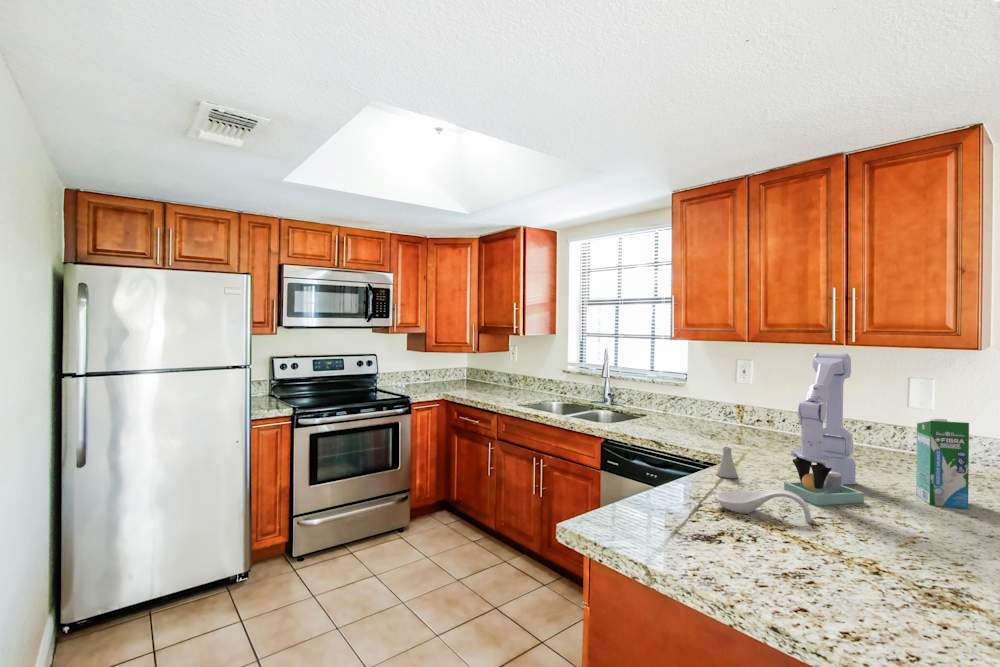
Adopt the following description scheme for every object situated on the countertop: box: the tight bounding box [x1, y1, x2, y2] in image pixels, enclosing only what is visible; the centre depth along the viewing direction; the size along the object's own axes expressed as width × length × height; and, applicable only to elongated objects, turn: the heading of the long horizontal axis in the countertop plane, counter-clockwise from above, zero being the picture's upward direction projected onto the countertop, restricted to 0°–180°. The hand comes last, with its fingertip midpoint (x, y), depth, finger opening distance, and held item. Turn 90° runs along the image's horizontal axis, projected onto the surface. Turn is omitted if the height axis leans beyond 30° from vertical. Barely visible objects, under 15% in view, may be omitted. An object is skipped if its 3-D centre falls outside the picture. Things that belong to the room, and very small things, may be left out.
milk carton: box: [915, 418, 970, 510], centre depth 150 cm, size 9×9×25 cm
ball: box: [802, 472, 817, 491], centre depth 153 cm, size 5×5×5 cm
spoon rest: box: [714, 488, 812, 524], centre depth 140 cm, size 24×12×7 cm, turn 62°
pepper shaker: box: [824, 471, 842, 494], centre depth 154 cm, size 4×4×7 cm
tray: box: [783, 481, 865, 507], centre depth 154 cm, size 16×13×3 cm
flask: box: [716, 446, 739, 479], centre depth 176 cm, size 7×7×10 cm
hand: (811, 485), depth 153 cm, fingers closed on ball, 5 cm apart
